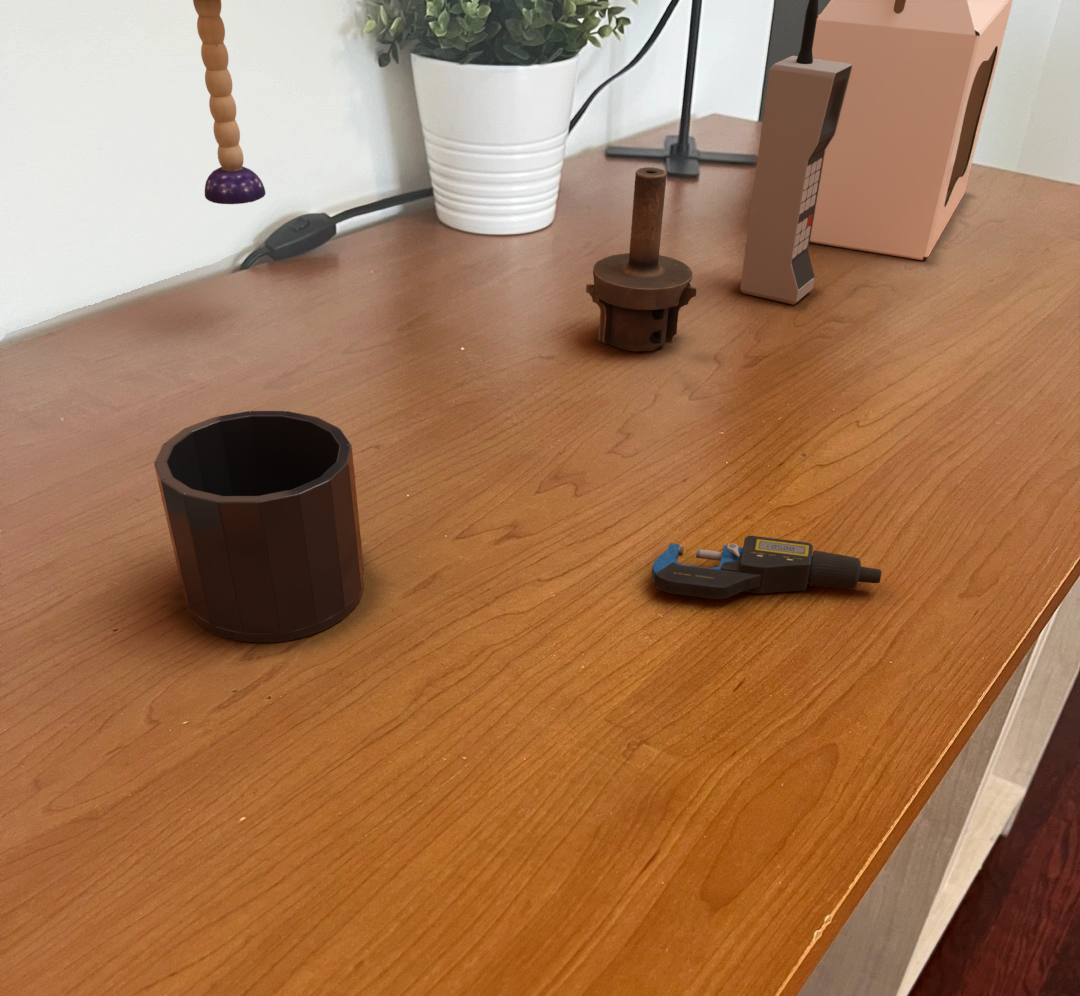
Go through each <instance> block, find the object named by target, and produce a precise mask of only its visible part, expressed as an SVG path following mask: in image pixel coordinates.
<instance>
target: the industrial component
mask: <svg viewBox="0 0 1080 996" xmlns="http://www.w3.org/2000/svg"><path fill="white" fill-rule="evenodd" d="M634 174H635V177H634V186H633V187H634V188H633V189H634V190H633V199H632V201H633V202H632V214H631V215H632V216H631V228H630V240H629V252H625V253H619V254H613V255H609V256H606V257H603V258H601V259H599V260H598V261H596V262H595V263H594V265H593V268H592V275H593V284H590V283H586V284H585V292H586V293H587V294H588V295H590V297H591V301H592V303H594V304H596V305H597V306H598V308H599V312H600V313H599V326H598V327H599V328H598V342H601V343H603V344H605V345H610V346H613V347H615V348H618V349H621V350H624V351H630V352H652V351H655V350H657V349H660V348H664V347H665V346H666V341H669V342H671V341H673V339H674V336H676V335H677V332H678V321H679V312H680V309H681V308H682V307H685V306H687V305H689V302H690V300H691V299H693V298H696V296H697V289H698V288H697V287H693V286H692V285H691V281H692V280H693V270H692V268H690V266H688V265H687V264H686V263H684V262H683V261H681V260H678V259H676V258H673V257H670V256H665V255H661V254H660V248H661V237H662V227H663V217H664V206H665V197H666V186H667V176H668V175H667V171H666V170H664V169H662V168H659V167H653V166H651V167H650V166H648V167H640V168H637V170H635V173H634ZM613 351H616V349H614V350H613Z"/></svg>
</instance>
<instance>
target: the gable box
mask: <svg viewBox="0 0 1080 996" xmlns="http://www.w3.org/2000/svg"><path fill="white" fill-rule="evenodd" d="M1013 1H1014V0H830V1H829V2H828V3H827V5H826V6H825V7H824V8H823V10H822V12H820V14H818V15H817V21H816V28H815V34H814V41H813V47H812V56H813V59H821V60H828V61H835V62H842V63H850V64H852V69H851V73H850V77H849V81H848V85H847V89H846V93H845V97H844V101H843V105H842V109H841V112H840V116H839V120H838V124H837V128H836V132H835V135H834V137H833V138H832V140H831V141H830V143H829V145H828V146H827V148H826V149H825V155H824V161H823V167H822V173H821V178H820V184H819V190H818V196H817V202H816V208H815V214H814V220H813V226H812V231H811V237H810V243H811V244H812V243H813V244H819V245H825V246H831V247H837V248H843V249H849V250H857V251H863V252H867V253H868V252H869V253H874V254H882V255H886V256H893V257H899V258H905V259H913V260H918V261H925V260H926V259H928V258H929V256H930V254H932V253H931V252H932V251H933V249H934V247H935V246H936V244H937V242H938V240H939V239H940V237H941V236H942V234H943V232H944V230H945V228H946V226H947V225H948V223H949V221H950V219H951V218H952V216H953V214H954V213H955V211H956V209H957V208H958V206H959V204H960V202H961V201H962V199H963V197H964V195H965V194H966V188H967V185H968V182H969V178H970V177H969V176H970V173H971V170H972V169H971V168H972V166H973V161H974V156H975V153H976V148H977V145H978V141H979V137H980V133H981V130H982V129H981V128H982V125H983V121H984V117H985V113H986V109H987V104H988V101H989V97H990V93H991V88H992V85H993V81H994V76H995V72H996V69H997V65H998V61H999V57H1000V54H1001V53H1000V52H1001V49H1002V45H1003V41H1004V38H1005V37H1004V36H1005V34H1006V29H1007V25H1008V22H1009V17H1010V13H1011V9H1012V4H1013Z"/></svg>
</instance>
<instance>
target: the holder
mask: <svg viewBox="0 0 1080 996" xmlns="http://www.w3.org/2000/svg"><path fill="white" fill-rule="evenodd" d="M153 466H154V470H155V474H156V480H157V484H158V487H159V488H158V489H159V493H160V497H161V502H162V505H163V510H164V514H165V519H166V523H167V527H168V532H169V537H170V540H171V546H172V550H173V553H174V558H175V564H176V567H177V572H178V575H179V580H180V584H181V589H182V592H183V595H184V598H185V601H186V606H187V609H188V612H189V613H190V615H191V617H192V618H193V620H195V622H196V623H197V624H198V625H200V626H201V627H202V628H203V629H205V630H207V631H209V632H210V633H212V634H215V635H217V636H219V637H223V638H226V639H229V640H233V641H238V642H243V643H244V642H245V643H257V644H258V643H261V644H267V643H269V644H270V643H280V642H281V643H282V642H289V641H294V640H299V639H302V638H306V637H310V636H312V635H315V634H318V633H321V632H323V631H325V630H327V629H329V628H331V627H333V626H335V625H337V624H338V623H340V622H341V621H343V620H344V619H345V618H346V617H348V616H349V615H350V614H351V613H352V612H353V611H354V610H355V608H356V607H357V606H358V604H359V603H360V601H361V599H362V597H363V594H364V590H365V581H364V579H365V578H364V573H365V569H364V567H365V565H364V556H363V546H362V538H361V537H362V535H361V527H360V526H361V525H360V515H359V506H358V505H359V504H358V495H357V486H356V475H355V465H354V455H353V446H352V443H351V442H350V440H349V439H348V437H347V436H346V435H345V433H344V432H343V430H342V429H341V428H340V427H338V426H336V425H334V424H332V423H330V422H328V421H326V420H324V419H322V418H321V417H317V416H313V415H309V414H303V413H300V412H299V413H298V412H293V411H289V410H248V411H242V412H236V413H230V414H224V415H217V416H214V417H211V418H207V419H206V420H203V421H200V422H198V423H195V424H192V425H189V426H187V427H184V428H183V429H181V430H180V431H179V432H177V433H176V434H175V435H173V436H172V437H170V438H169V439H168V440H166V441H165V442H164V443H163V444H162V445H161V447H160V449H159V451H158V453H157V456H156V458H155V460H154V463H153Z"/></svg>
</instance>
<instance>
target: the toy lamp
mask: <svg viewBox="0 0 1080 996" xmlns="http://www.w3.org/2000/svg"><path fill="white" fill-rule="evenodd" d="M192 3H193V7H194V9H195V12H196V14H197V15H198V17H197V21H196V29H197V34H198V37H199V39H200V41H201V47H200V54H201V55H200V56H201V60H202V63H203V65H204V67H205V72H204V83H205V87H206V89H207V92H208V93H209V95H210V96H209V100H208V106H209V111H210V114H211V117H212V118H213V120H214V122H213V127H212V128H213V135H214V139H215V141H216V143H217V145H218V148H217V159H218V163H219V166H220V167H217V168H216V169H214V170H213V171H211V173H210V174H209V175H208V177H207V179H206V180H205V185H204V198H205V199H206V200H207V201H208V202H211V203H213V204H219V205H240V204H241V205H243V204H248V203H253V202H256V201H258V200H261V199H263V198H264V197H265V195H266V188H265V186H264V183H263V181H262V179H261V178H260V177H259V175H257V173H255V172H254V171H253V170H251V168H247V167H245V166H244V153H243V150H242V147H241V146H240V140H241V131H240V126H239V124H238V123H237V120H236V117H237V105H236V100H235V98H234V97H233V95H232V92H233V79H232V75H231V73H230V71H229V69H228V67H229V52H228V48H227V46H226V44H225V43H224V41H225V37H226V29H225V24H224V21H223V18H222V17H221V12H222V0H192Z"/></svg>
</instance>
